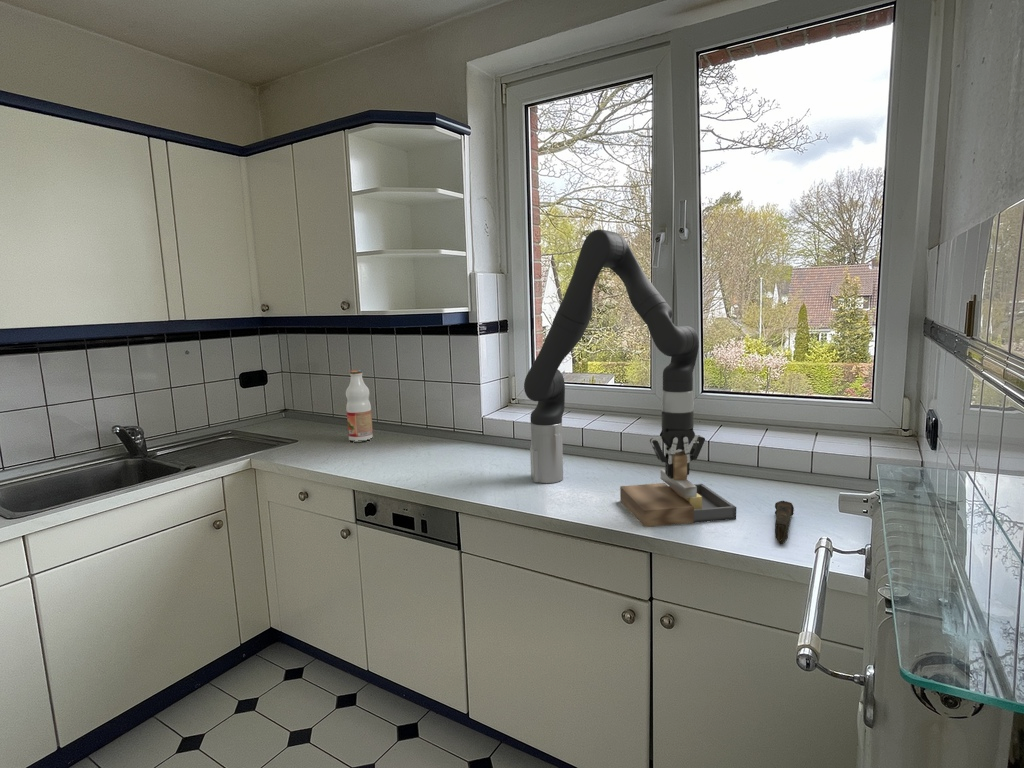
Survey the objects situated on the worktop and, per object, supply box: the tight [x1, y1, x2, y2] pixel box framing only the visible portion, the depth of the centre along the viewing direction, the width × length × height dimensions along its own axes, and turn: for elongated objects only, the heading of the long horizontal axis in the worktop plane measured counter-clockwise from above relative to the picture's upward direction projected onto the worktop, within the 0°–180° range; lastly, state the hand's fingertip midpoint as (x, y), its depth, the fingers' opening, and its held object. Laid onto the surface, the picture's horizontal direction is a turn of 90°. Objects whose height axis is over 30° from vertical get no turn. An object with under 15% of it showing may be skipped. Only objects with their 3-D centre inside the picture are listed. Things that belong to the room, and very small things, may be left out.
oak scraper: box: [660, 451, 697, 498], centre depth 143 cm, size 3×15×8 cm, turn 7°
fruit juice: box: [345, 369, 374, 441], centre depth 229 cm, size 9×9×28 cm
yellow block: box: [682, 493, 702, 509], centre depth 141 cm, size 4×4×3 cm
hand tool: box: [774, 500, 795, 546], centre depth 130 cm, size 19×4×5 cm, turn 150°
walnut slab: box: [619, 482, 695, 528], centre depth 144 cm, size 12×18×4 cm, turn 7°
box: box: [668, 483, 737, 524], centre depth 145 cm, size 10×18×3 cm, turn 7°
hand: (677, 476), depth 143 cm, fingers closed on oak scraper, 3 cm apart
